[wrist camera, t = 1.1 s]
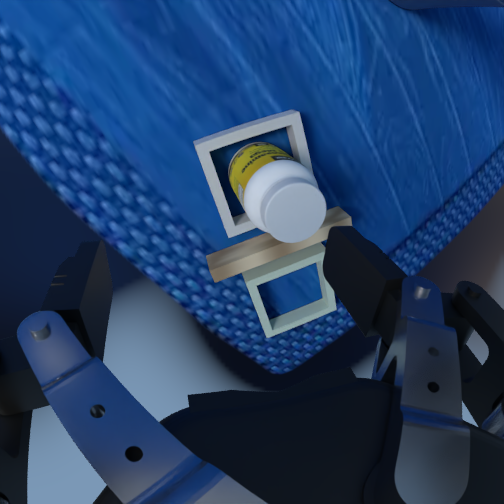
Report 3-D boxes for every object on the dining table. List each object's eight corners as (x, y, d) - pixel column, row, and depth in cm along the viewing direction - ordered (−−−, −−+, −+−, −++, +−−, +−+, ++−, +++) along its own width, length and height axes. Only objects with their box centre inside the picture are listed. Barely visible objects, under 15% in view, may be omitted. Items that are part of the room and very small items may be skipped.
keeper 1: (291, 109, 29) (299, 111, 27) (311, 197, 34) (319, 204, 33) (193, 141, 28) (194, 145, 27) (225, 229, 34) (228, 238, 32)
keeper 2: (320, 241, 38) (327, 250, 36) (330, 300, 43) (336, 309, 42) (241, 272, 37) (245, 282, 35) (263, 327, 43) (267, 338, 41)
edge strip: (338, 206, 36) (350, 216, 33) (340, 217, 37) (352, 229, 34) (206, 255, 35) (209, 270, 32) (210, 267, 36) (214, 282, 33)
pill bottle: (281, 134, 30) (332, 162, 21) (290, 189, 33) (339, 238, 24) (220, 149, 29) (246, 185, 20) (234, 206, 33) (263, 263, 24)
